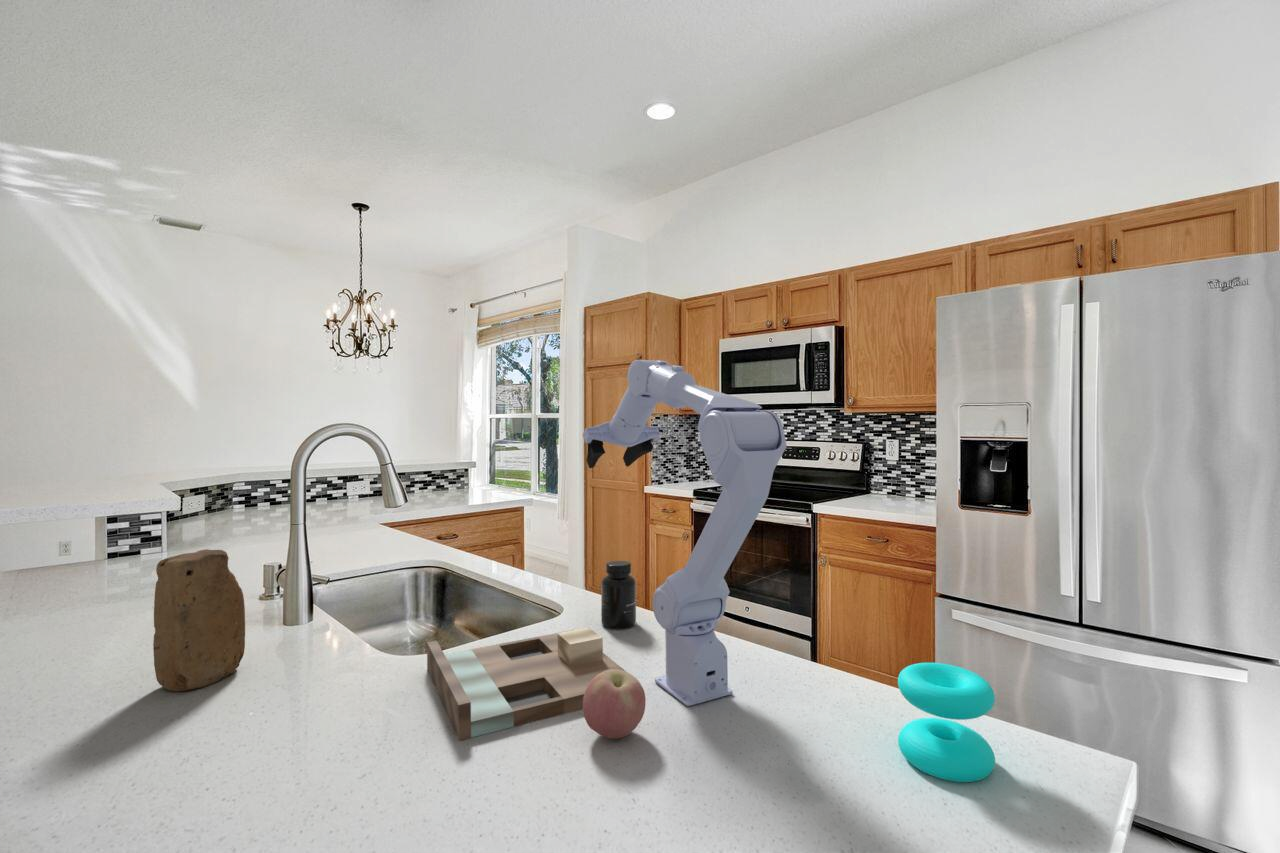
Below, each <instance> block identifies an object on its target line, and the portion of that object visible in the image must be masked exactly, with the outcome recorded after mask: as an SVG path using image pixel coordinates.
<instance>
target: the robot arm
mask: <svg viewBox="0 0 1280 853" xmlns="http://www.w3.org/2000/svg"><path fill="white" fill-rule="evenodd" d="M658 403H663V404H665V405H667V406H669V407H670V408H672V409H685V408H686V407H687V408H689V409H690V410H692V411H694V412H696V413H697V414H699V415H700V417H699V420H698V424H697V431H698V432H699V442H700V446H701V447H702V448H701V449H702V451H703V454H704V456H705V460H706V462H707V464H708V467H709V470H710V473H711V476H712V479H713V481H714V482H715V483H716V484H718V485H719V486H721V487H722V491H721V493H720V495H719V496H718V499H717V500H716V503H715V505H714V506H713V509H712V510H711V512H710V515H709V517H708V519H707V521H706V523H705V525H704V527H703V529H702V532H701V534H700V536H699V538H698V539H697V542H696V544H695V546H694V548H693V550H692V552H691V554H690V556H689V557H688V560H687V561H686V564H685V566H683V567H682V568H681V569H679V570H677V571H676V572H674V573H672V574H670V575H669V576H668V577H666V578H665V581H664V583H663V584H661V585H659V586H658V587H657V588H656V589H655V591H654V594H653V596H652V611H653V614H654V617H655V620H656V621H657V623H658V625H659V626H660V627H661V628H662V629H664V630H665V674H664V675H660V676H657V677H655V678H654V682H655V683H656V684H658V685H659V686H660V687H662V688H663V689H664V690H666V691H667V692H668V693H670V694H671V695H672V696H673V697H675V699H677V700H679V702H681V703H683V704H684V705H685V706H686V707H687V706H688V707H691V706H694V705H698V704H702V703H704V702H708V701H711V700H715V699H719V698H723V697H726V696H729V695H732V694H733V689H731V688H730V687H729V686H728V684H729V683H728V680H729V679H728V668H729V667H728V651H727V648H726V646H725V645H724V643H723V642H722V641H721V640H720V639H719V638H718V637H717V635H716V633H715V628H717V627H718V626H719V625H718V624H719V620H720V619H721V618H723V616H724V614H725V612H726V603H727V599H728V597H729V595H730V592H731V591H730V589H729V587H728V583H727V582H726V579H725V578H724V577H725V575H726V574H727V573H728V570H729V568H730V567H731V564H732V563H733V561H734V559H735V557H736V556H737V554H738V552H739V551H740V549H741V547H742V545H743V544H744V541H745V540H746V538H747V536H748V534H749V532H750V530H752V526H753V525H754V523H755V521H756V520H757V518H758V516H759V514H760V512H761V510H762V509H763V507H764V505H765V504H766V501H767V499H768V497H769V494H770V489H771V486H772V485H771V484H772V480H773V475H774V471H775V469H776V467H777V465H778V463H779V462H780V460H781V458H782V456H783V454H784V452H785V451H786V449H787V441H786V436H785V432H784V427H783V423H782V420H781V419H780V417H779V416H778V415H777V414H776V413H775V412H774V411H772V410H767V409H765V410H761V409H763V407H762V406H761V405H760V404H758V403H755V402H752V401H749V400H746V399H743V398H739V397H736V396H732V395H729V394H727V393H723V392H720V391H718V390H714V389H711V388H708V387H704V386H702V385H698V384H697V382H696V380H695V378H694V376H693V375H691V374H690V373H688V372H686V371H685V367H684V366H681V365H673V364H672V365H671V364H670V363H669V362H668V361H666V360H654V359H653V360H652V359H651V360H648V359H638V360H637V359H636V360H633V361H632V362H631V363H630V365H629V367H628V371H627V388H626V390H625V393H624V394H623V397H622V398H621V400H620V403H619V405H618V407H617V409H616V411H615V413H614V415H613V416H612V418H611V420H610V421H607V422H604V423H600V424H598V425H595V426H592V427H585V428H584V431H583V432H582V438H583V440H584V443H585V444H587V454H586V455H587V456H586V463H587V466H588V469H593V468H594V467H595V466H596V465H597V462H598V460H599V459H600V458H601V457H602V456H604V454H606V451H605V448H604V442H605V443H608V444H611V445H615V446H620V447H623V448H624V447H625V448H626V449H625V452H624V453H623V457H622V460H623V463H624V465H625V467H630V466H631V465H632V464H634V463H635V462H636V460H638V459H640V458H641V457H642V456H644V455H646V454H648V453H649V454H650V453H652V451H653V449H654V445H653V442H658V441H659V439H660V437H661V433H660V430H659V428H658V427H657V426H650V425H647V423H648V422H649V420H650V418H651V417H652V415H653V412H654V410H655V409H656V407H657V404H658ZM758 410H759V411H758Z"/></svg>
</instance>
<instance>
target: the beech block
mask: <svg viewBox="0 0 1280 853" xmlns="http://www.w3.org/2000/svg"><path fill="white" fill-rule="evenodd" d="M572 630H573V631H571V630H567V632H565V631H561V632H562V633H560V632H557V633H558V656H559V657H561V658H562V659H563V660H564V661H565V662H566V663H567V664H568V665H569V666H570V667H573V666H577V665H582V664H586V663H591V662H595V661H600V660H603V653H604V652H603V650H604V646H603V643H604V641H603V637H602V636H601V635H600V634H598V633H596V632H595V631H594V630H593V629H591V628H590V627H585V628H580V629H572Z"/></svg>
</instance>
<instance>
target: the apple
mask: <svg viewBox="0 0 1280 853" xmlns="http://www.w3.org/2000/svg"><path fill="white" fill-rule="evenodd" d="M624 670H625V669H624ZM624 670H619V669H610V670H606V671H604V672H602V673H600V674H598V675H597V676H596V677H595V678H594V679H592V681H591V682H590V683H589V685H588V686H587V688H586V691H585V694H584V697H583V709H582V713H583V718H584V720H585V721H586V722H585V723H586V724H587V726H588V727H589V728H590V730H592V731H594V732H595V733H597V734H598V735H599V736H600V737H604V738H608V739H611V740H612V739H616V740H617V739H623V738H625V737H627V736H629V735H630V734H631V733H632V732H633V731H634V730H635V729H636V728H637V727H638V725H639V724H640V723H641V722H642V719H643V717H644V715H645V710H646V693H645V690H644V687H643V686H642V684H641V683H640V681H639V680H638V679H637V678H636V677H635V676H634V675H632V674H631V673H630V672H628V671H626V670H625V671H624Z"/></svg>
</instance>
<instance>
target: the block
mask: <svg viewBox="0 0 1280 853" xmlns="http://www.w3.org/2000/svg"><path fill="white" fill-rule="evenodd" d="M155 569H156V571H155V572H156V575H157V581H156V583H155V588H154V602H153V603H154V604H153V605H154V606H153V627H154V635H153V644H152V645H153V647H152V649H153V664H154V665H153V667H154V671H155V679H156V681H157V682H158V684H159V686H161V687H163V688H164V689H165V690H168V691H171V692H183V691H190V690H197V689H200V688H204V687H207V686H209V685H212V684H214V683H217V682H218V681H220V680H221V679H222V678H226V677H228V676H229V675H231V674H233V673H235V672H236V670H237V668H238V667H239V666H240V663H241V661H242V660H243V657H244V654H245V649H246V648H245V647H246V610H245V609H246V606H245V599H244V598H245V597H244V596H245V595H244V593H243V589H242V588H241V587H240V584H239V582H238V581H237V577H235V574H234V573H233V572H232V571H230V569H229V555H228V553H227V551H225V550H223V549H202V550H201V549H200V550H197V551H195V552H186V553H181V554H178V555H173V556H169V557H166V558H163V559H161V560H160V561H159V562H158V563H157V565H156V568H155Z"/></svg>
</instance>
